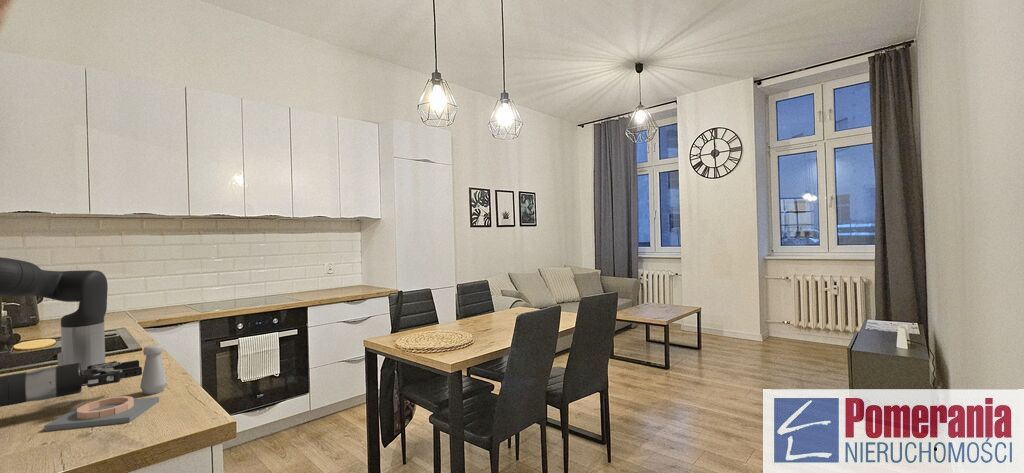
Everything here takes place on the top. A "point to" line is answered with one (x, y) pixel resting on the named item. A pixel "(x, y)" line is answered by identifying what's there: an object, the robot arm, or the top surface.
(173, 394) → the top surface
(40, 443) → the top surface
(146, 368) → the salt shaker
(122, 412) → the holder
